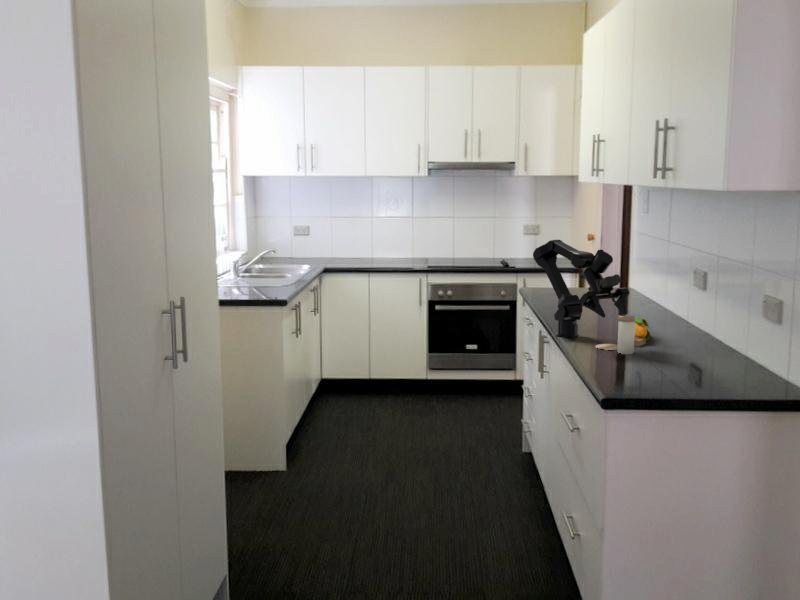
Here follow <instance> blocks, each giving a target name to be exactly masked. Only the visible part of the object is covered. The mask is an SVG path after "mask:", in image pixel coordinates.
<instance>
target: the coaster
mask: <svg viewBox="0 0 800 600" xmlns="http://www.w3.org/2000/svg"><path fill="white" fill-rule="evenodd" d="M597 348H598V349H597ZM595 349H597V350H600V349H604V350H603V351H608V350H614V351H617V344H616V343H615V344H614V343H600V344H596V345H595Z"/></svg>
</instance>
